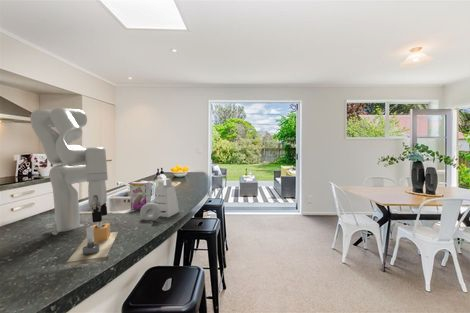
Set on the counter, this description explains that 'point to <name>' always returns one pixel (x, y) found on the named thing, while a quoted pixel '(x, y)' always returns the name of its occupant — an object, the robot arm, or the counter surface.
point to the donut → (146, 207)
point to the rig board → (103, 251)
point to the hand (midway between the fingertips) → (100, 218)
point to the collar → (101, 232)
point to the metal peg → (90, 243)
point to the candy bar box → (139, 194)
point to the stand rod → (99, 224)
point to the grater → (166, 198)
